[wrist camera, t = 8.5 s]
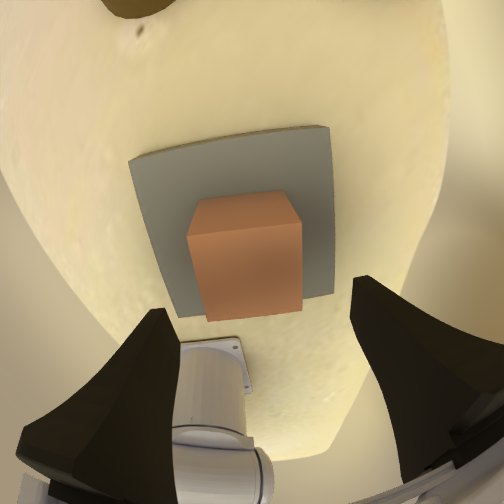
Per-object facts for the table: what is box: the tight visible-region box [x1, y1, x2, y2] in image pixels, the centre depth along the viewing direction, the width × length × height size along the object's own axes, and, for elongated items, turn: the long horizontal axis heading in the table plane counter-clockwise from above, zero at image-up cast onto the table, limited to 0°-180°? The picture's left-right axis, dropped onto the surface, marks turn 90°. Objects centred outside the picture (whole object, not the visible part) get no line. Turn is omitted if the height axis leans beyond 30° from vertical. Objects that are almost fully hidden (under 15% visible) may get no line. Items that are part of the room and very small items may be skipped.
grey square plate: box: [128, 125, 335, 318], centre depth 19 cm, size 12×12×3 cm
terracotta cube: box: [186, 190, 302, 322], centre depth 15 cm, size 5×5×5 cm
